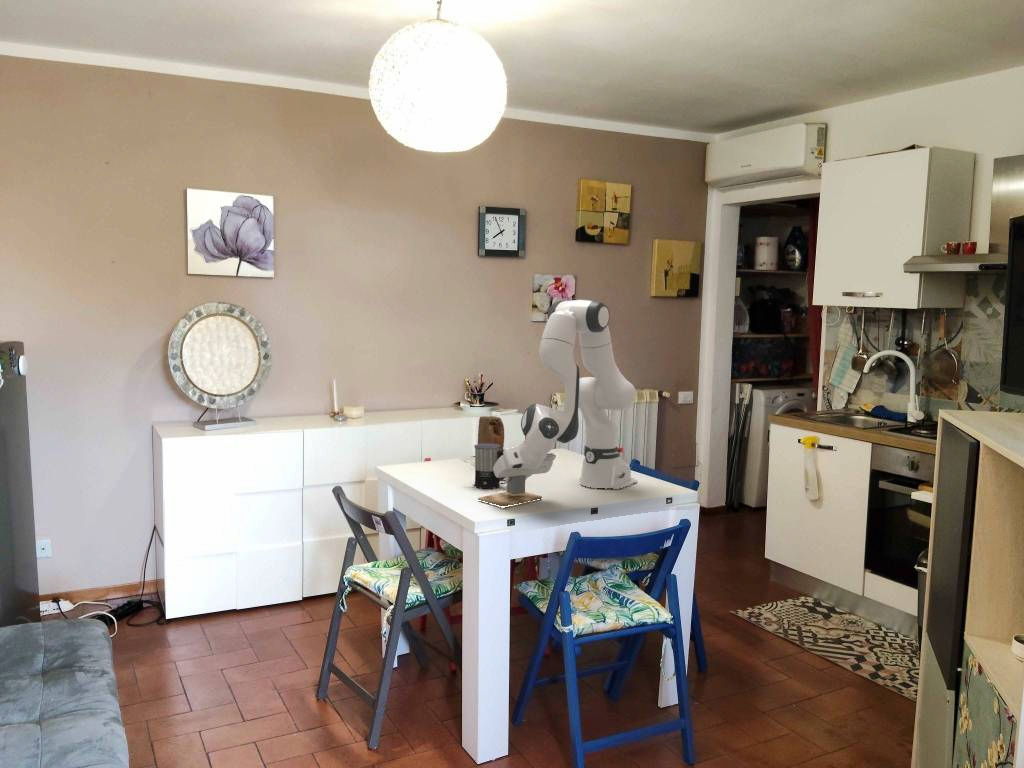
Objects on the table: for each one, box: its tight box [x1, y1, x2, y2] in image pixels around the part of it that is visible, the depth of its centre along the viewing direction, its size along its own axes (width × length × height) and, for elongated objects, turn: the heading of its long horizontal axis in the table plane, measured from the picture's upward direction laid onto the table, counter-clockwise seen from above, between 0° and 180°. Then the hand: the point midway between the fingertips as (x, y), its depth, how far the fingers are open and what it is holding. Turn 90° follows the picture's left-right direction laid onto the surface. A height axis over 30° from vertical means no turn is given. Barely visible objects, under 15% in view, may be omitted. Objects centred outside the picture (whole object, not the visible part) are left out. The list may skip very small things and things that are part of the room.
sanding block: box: [506, 475, 526, 496], centre depth 274 cm, size 4×4×9 cm
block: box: [477, 415, 505, 457], centre depth 325 cm, size 11×8×20 cm
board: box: [477, 491, 543, 506], centre depth 273 cm, size 18×12×1 cm, turn 134°
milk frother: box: [473, 443, 505, 490], centre depth 296 cm, size 14×16×15 cm
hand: (515, 479), depth 275 cm, fingers closed on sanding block, 4 cm apart
